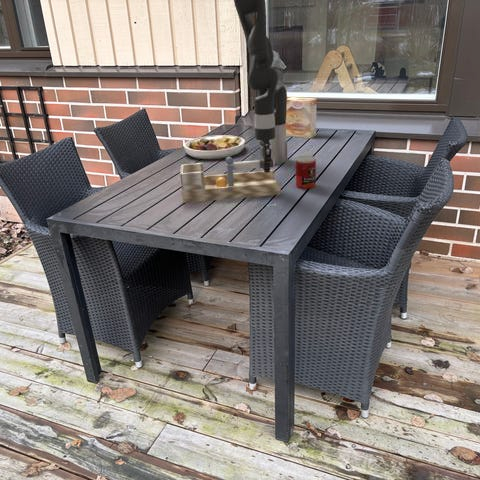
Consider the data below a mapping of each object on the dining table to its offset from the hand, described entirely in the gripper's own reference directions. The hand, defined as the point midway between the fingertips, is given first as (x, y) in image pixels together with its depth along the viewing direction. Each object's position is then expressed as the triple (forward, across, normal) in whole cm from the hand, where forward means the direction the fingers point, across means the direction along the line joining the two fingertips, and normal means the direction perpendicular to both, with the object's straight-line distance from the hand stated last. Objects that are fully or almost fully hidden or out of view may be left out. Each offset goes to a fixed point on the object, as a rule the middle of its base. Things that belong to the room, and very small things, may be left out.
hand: (266, 170), depth 183 cm
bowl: (+8, +59, +18) cm, 62 cm away
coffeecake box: (+7, +77, -29) cm, 83 cm away
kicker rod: (+5, 0, +6) cm, 8 cm away
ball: (+3, 0, +18) cm, 18 cm away
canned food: (+7, -1, -15) cm, 17 cm away
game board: (+7, 0, +14) cm, 16 cm away
